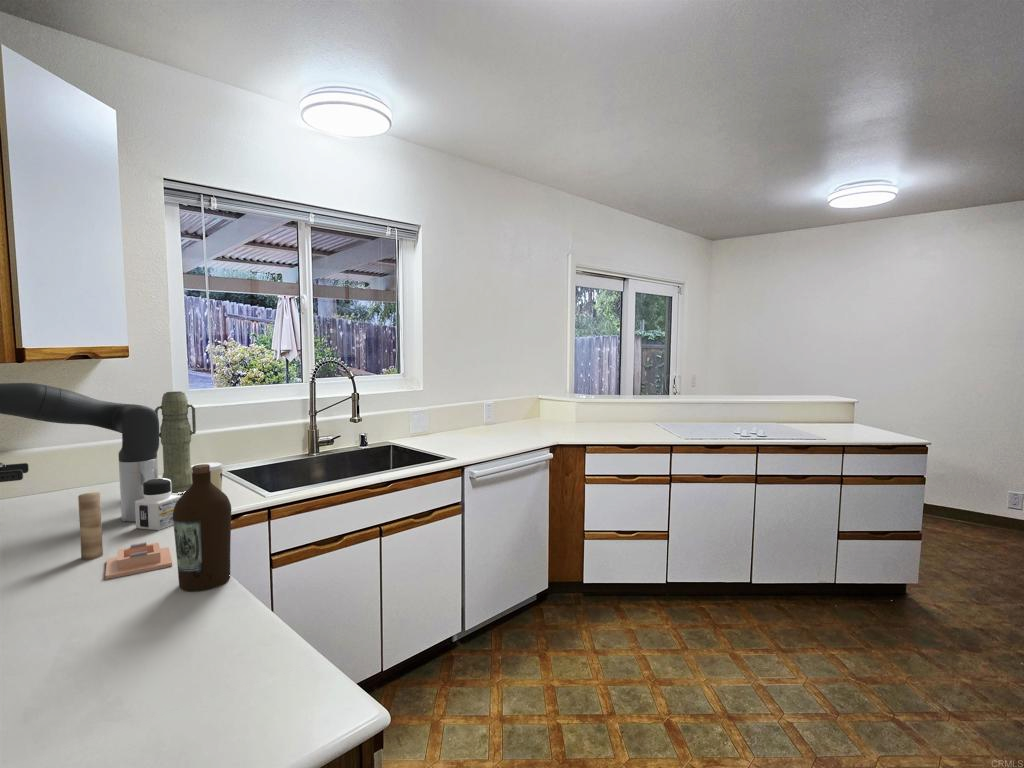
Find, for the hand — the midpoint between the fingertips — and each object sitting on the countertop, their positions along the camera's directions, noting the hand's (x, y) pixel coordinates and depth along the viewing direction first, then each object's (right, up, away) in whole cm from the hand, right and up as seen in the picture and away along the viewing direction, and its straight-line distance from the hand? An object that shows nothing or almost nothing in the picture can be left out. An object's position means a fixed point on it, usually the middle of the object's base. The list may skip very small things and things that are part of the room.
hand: (25, 471), depth 117 cm
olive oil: (+44, -23, -6) cm, 50 cm away
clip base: (+23, -22, +4) cm, 32 cm away
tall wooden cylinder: (+9, -22, +8) cm, 25 cm away
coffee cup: (+9, -19, +54) cm, 58 cm away
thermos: (-8, -18, +65) cm, 68 cm away
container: (+9, -21, +31) cm, 38 cm away
